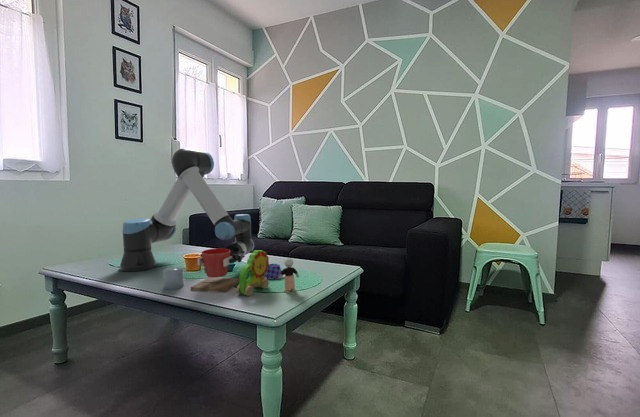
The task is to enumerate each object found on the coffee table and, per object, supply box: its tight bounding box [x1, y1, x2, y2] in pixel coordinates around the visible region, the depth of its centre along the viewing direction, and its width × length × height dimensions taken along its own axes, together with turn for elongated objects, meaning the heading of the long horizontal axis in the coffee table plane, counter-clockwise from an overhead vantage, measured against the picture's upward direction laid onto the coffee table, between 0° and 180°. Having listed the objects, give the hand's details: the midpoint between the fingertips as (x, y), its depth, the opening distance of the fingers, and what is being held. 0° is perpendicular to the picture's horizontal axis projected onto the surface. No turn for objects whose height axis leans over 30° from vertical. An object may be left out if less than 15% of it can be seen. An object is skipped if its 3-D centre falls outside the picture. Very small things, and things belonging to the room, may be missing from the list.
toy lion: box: [236, 249, 270, 297], centre depth 125 cm, size 16×5×15 cm, turn 155°
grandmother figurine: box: [279, 257, 300, 294], centre depth 124 cm, size 8×4×13 cm, turn 123°
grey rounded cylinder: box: [162, 266, 184, 291], centre depth 129 cm, size 7×7×7 cm
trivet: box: [190, 276, 239, 293], centre depth 131 cm, size 14×14×1 cm
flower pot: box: [201, 247, 231, 278], centre depth 130 cm, size 11×11×10 cm
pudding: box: [265, 263, 285, 280], centre depth 145 cm, size 12×12×5 cm
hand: (211, 262), depth 126 cm, fingers closed on flower pot, 10 cm apart
